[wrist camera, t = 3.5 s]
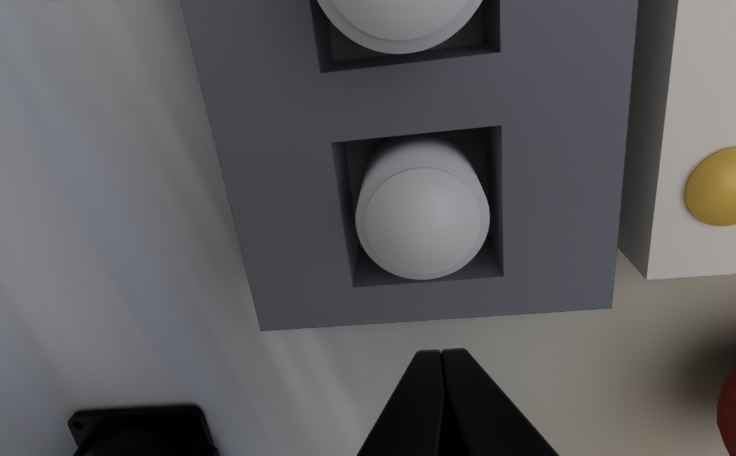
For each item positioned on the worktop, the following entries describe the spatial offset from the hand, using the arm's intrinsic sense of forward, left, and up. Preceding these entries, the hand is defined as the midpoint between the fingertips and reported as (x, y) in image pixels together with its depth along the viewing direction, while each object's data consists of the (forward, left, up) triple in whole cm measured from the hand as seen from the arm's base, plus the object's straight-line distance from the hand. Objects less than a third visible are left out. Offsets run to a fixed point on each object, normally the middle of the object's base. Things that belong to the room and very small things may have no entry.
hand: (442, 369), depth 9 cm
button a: (0, 0, -10) cm, 10 cm away
